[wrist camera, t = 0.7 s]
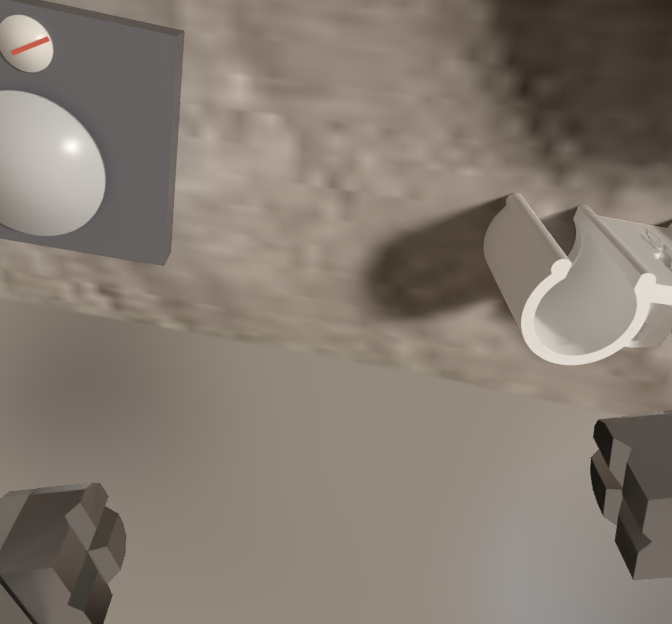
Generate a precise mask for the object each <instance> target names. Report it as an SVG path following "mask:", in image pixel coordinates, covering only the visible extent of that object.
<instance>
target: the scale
mask: <svg viewBox="0 0 672 624" xmlns="http://www.w3.org/2000/svg"><path fill="white" fill-rule="evenodd" d="M183 44H184V31H182V30H177V29H173V28H168V27H163V26H159V25H154V24H149V23H145V22H140V21H135V20H131V19H126V18H121V17H117V16H112V15H107V14H103V13H98V12H93V11H89V10H84V9H80V8H75V7H70V6H66V5H61V4H56V3H52V2H47V1H42V0H0V238H2V239H8V240H14V241H20V242H26V243H32V244H38V245H43V246H49V247H55V248H61V249H67V250H73V251H79V252H85V253H91V254H97V255H103V256H109V257H115V258H121V259H127V260H132V261H138V262H144V263H150V264H156V265H162V266H164V265H165V263H166V261H167V259H168V257H169V255H170V253H171V240H172V224H173V208H174V191H175V175H176V159H177V142H178V126H179V110H180V93H181V77H182V61H183Z"/></svg>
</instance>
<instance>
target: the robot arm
mask: <svg viewBox="0 0 672 624" xmlns="http://www.w3.org/2000/svg"><path fill="white" fill-rule="evenodd" d="M593 438H594V440H595V442H596V444H597V446H598V448H599V450H598V451H597V452H596V453H595V454H594V455H593V456H592V457H591V465H590V474H591V481H592V487H593V491H594V495H595V498H596V501H597V504H598V506H599V508H600V510H601V512H602V515H603V516H604V517H605V518H607V519H608V520H609V521H611V522H612V523H614V524H615V525H617V529H616V535H615V543H616V545H617V547H618V549H619V551H620V553H621V555H622V557H623V560H624V561H625V564H626V566H627V568H628V570H629V572H630V574H631V576H632V578H633V580H641V579H655V578H667V577H672V410H667V411H663V412H661V411H658V412H651V413H643V414H636V415H628V416H621V417H614V418H607V419H599V420H598V421H597V422H596V424H595V427H594V434H593ZM107 499H108V495H107V493H106V492H105V490H104V488H103V487H102V485H101V484H100V483H85V484H75V485H65V486H54V487H45V488H37V489H28V490H19V491H9V492H8V493H7V494H5V495H4V496H3V497H2V498H0V624H103V623H104V620H105V617H106V614H107V611H108V608H109V605H110V602H111V599H112V596H113V595H112V593H111V590H110V588H109V586H108V583H109V581H110V580H111V579H113V577H114V576H115V575H116V574H117V573H118V572H119V571H120V570H121V567H122V564H123V560H124V557H125V552H126V533H125V528H124V524H123V522H122V520H121V518H120V516H119V514H118V513H116V512H114V511H113V510H111V509H109V508H108V507H106V506H105V505H106V502H107Z"/></svg>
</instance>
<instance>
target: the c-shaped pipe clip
mask: <svg viewBox="0 0 672 624" xmlns="http://www.w3.org/2000/svg"><path fill="white" fill-rule="evenodd" d="M506 205H507V206H505V207H504V208H503V209H502V210H501V211H500V212H499V213H498V214H497V215H496V216H495V217H494V219H493V220H492V222H491V223H490V225H489V227H488V229H487V231H486V234H485V238H484V246H483V248H484V256H485V259H486V262H487V264H488V266H489V268H490V270H491V272H492V274H493V276H494V278H495V281H496V283H497V285H498V287H499V289H500V291H501V293H502V295H503V297H504V299H505V301H506V303H507V305H508V307H509V309H510V311H511V313H512V315H513V317H514V319H515V321H516V323H517V326H518V328H519V330H520V332H521V334H522V336H523V338H524V340H525V342H526V344H527V345H528V346H529V348H530V349H531V350H532V351H533V352H534V353H535V354H536V355H538V356H539V357H541V358H543V359H545V360H547V361H549V362H553V363H556V364H562V365H580V364H586V363H591V362H595V361H598V360H600V359H603V358H605V357H608V356H609V355H611V354H613V353H615V352H617V351H618V350H620V349H621V348H622V347H624V346H626V347H634V348H643V347H653V346H658V345H661V343H662V342H663V341H664V340H665V338H666V337H667V336H668V335H669V333H670V332H671V333H672V223H671V224H670V225H669V226H668V227H667V228H665V227H659V226H653V225H648V224H642V223H637V222H631V221H625V220H620V219H614V218H608V217H603V216H597V215H596V214H595V213H594V212H593V211H592V210H591V209H590V208H589V207H588V206H586V205H581V206H579V207H578V208H577V211H576V213H575V215H574V218H573V220H574V223H575V227H576V239H575V243H574V246H573V248H572V250H571V252H570V253H569V255H568V256H566V254H565V253H564V252H563V250H562V249H561V248H560V246H559V245H558V244H557V242H556V241H555V240H554V238H553V237H552V236H551V234H550V233H549V232H548V230H547V229H546V228H545V226H544V225H543V224H542V222H541V221H540V220H539V218H538V217H537V216H536V214H535V213H534V212H533V210H532V209H531V208H530V206H529V205H528V204H527V202H526V201H525V200H524V198H523V197H522V196H521V195H520V194H519V193H512V194H510V195H509V196H508V197H507V199H506Z"/></svg>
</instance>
